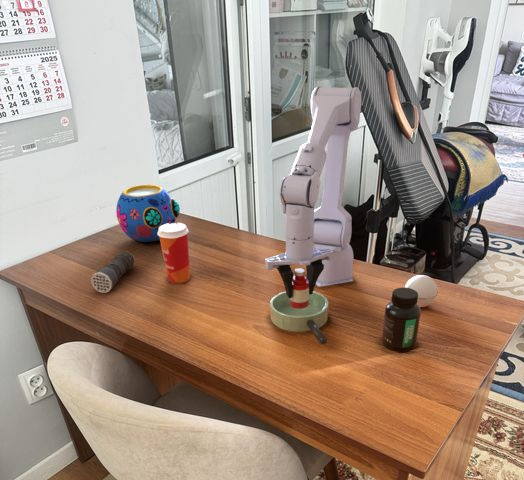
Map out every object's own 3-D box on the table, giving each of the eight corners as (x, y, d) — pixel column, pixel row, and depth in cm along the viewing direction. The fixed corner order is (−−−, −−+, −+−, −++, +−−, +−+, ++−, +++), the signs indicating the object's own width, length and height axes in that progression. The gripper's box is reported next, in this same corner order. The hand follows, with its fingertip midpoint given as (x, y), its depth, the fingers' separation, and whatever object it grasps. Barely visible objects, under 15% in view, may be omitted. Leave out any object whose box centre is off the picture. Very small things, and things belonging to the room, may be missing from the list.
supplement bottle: (414, 356, 103) (423, 303, 96) (379, 351, 104) (385, 299, 98) (416, 338, 108) (424, 286, 101) (382, 334, 110) (388, 283, 103)
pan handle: (305, 325, 110) (305, 319, 110) (312, 324, 111) (312, 317, 110) (320, 346, 104) (320, 339, 103) (328, 345, 104) (328, 338, 103)
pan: (315, 300, 123) (315, 285, 121) (336, 327, 113) (337, 311, 111) (263, 310, 120) (263, 294, 118) (281, 337, 110) (280, 321, 108)
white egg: (395, 305, 120) (399, 276, 116) (414, 294, 124) (418, 266, 120) (433, 321, 114) (438, 291, 110) (451, 309, 118) (457, 280, 114)
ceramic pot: (152, 254, 150) (144, 203, 141) (109, 243, 158) (99, 194, 149) (191, 234, 161) (185, 186, 153) (149, 225, 170) (142, 178, 161)
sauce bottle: (305, 298, 117) (305, 265, 112) (311, 306, 113) (312, 272, 109) (287, 301, 116) (287, 267, 111) (293, 310, 112) (293, 276, 108)
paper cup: (165, 273, 139) (158, 222, 131) (194, 271, 139) (188, 220, 131) (163, 286, 132) (155, 234, 124) (193, 284, 133) (187, 232, 125)
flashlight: (119, 266, 143) (115, 248, 140) (137, 267, 142) (134, 249, 139) (93, 292, 131) (88, 272, 128) (113, 293, 130) (108, 273, 127)
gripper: (271, 247, 101) (273, 308, 108) (340, 237, 104) (337, 296, 112) (261, 234, 106) (263, 293, 114) (326, 225, 110) (324, 282, 117)
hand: (299, 294), depth 113 cm, fingers closed on sauce bottle, 4 cm apart
